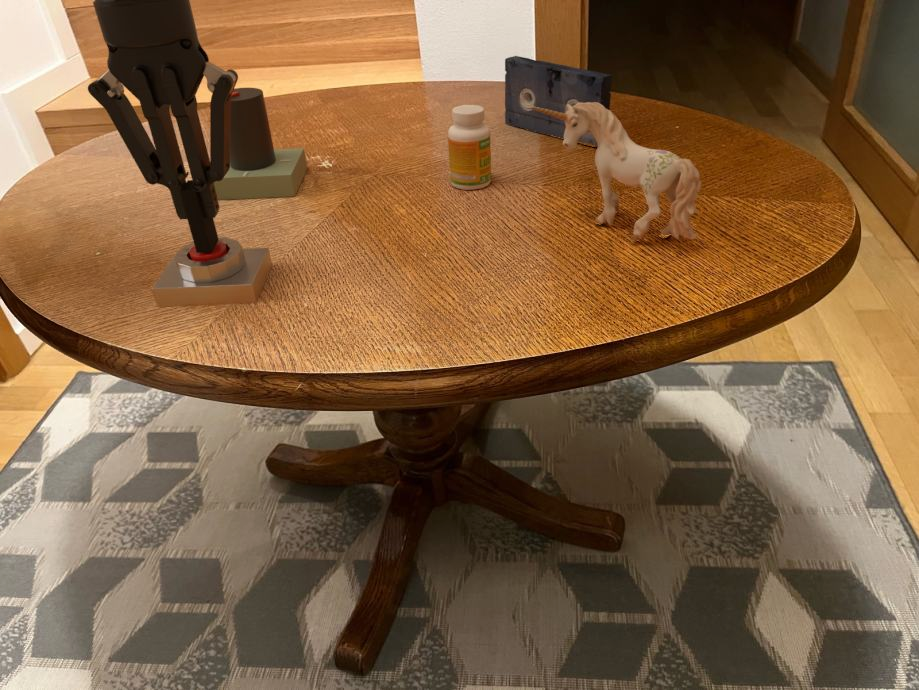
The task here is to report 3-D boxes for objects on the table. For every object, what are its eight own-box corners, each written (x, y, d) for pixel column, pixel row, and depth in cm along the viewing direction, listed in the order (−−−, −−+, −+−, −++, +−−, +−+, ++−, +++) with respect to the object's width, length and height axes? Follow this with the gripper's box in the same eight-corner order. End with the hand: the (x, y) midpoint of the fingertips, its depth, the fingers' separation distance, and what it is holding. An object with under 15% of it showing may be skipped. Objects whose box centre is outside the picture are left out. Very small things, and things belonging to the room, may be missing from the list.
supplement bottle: (485, 192, 94) (483, 116, 88) (445, 189, 95) (441, 114, 90) (495, 176, 98) (494, 103, 92) (456, 174, 99) (453, 101, 94)
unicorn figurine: (557, 199, 91) (561, 89, 83) (713, 233, 81) (733, 112, 74) (528, 220, 86) (530, 106, 79) (690, 259, 77) (709, 133, 69)
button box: (157, 307, 73) (145, 272, 71) (181, 269, 80) (172, 236, 78) (256, 303, 73) (248, 268, 71) (272, 265, 80) (265, 232, 77)
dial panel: (203, 201, 95) (197, 177, 94) (223, 172, 104) (218, 150, 102) (294, 196, 95) (290, 173, 93) (307, 168, 104) (304, 146, 102)
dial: (253, 152, 101) (239, 83, 96) (285, 158, 98) (272, 88, 93) (220, 166, 97) (203, 95, 92) (252, 173, 94) (237, 100, 89)
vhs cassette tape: (608, 144, 106) (613, 74, 101) (595, 150, 105) (599, 78, 99) (517, 119, 118) (517, 54, 112) (504, 124, 116) (503, 58, 110)
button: (188, 273, 73) (184, 257, 72) (199, 256, 76) (195, 241, 75) (224, 271, 73) (220, 255, 72) (233, 254, 76) (229, 239, 75)
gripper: (40, 2, 58) (130, 267, 71) (204, -7, 57) (264, 260, 71) (80, -14, 64) (156, 233, 77) (228, -22, 63) (279, 227, 77)
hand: (207, 246), depth 74 cm, fingers closed
